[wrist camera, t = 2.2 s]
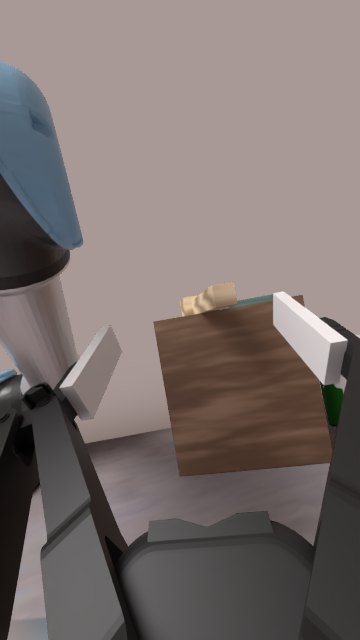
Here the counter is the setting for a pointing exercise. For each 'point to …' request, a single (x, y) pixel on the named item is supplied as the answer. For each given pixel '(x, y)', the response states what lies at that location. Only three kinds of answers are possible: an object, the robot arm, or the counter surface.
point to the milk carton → (334, 399)
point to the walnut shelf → (239, 392)
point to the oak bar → (210, 299)
